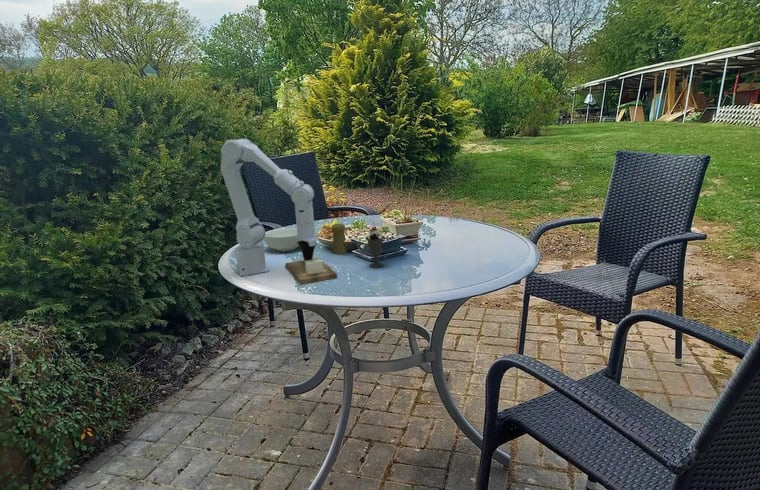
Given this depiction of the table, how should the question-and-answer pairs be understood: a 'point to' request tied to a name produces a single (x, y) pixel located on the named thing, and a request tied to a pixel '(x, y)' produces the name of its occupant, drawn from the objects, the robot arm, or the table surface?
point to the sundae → (375, 246)
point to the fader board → (303, 278)
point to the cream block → (314, 266)
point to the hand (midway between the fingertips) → (308, 262)
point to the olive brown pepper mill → (338, 239)
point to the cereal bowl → (282, 239)
